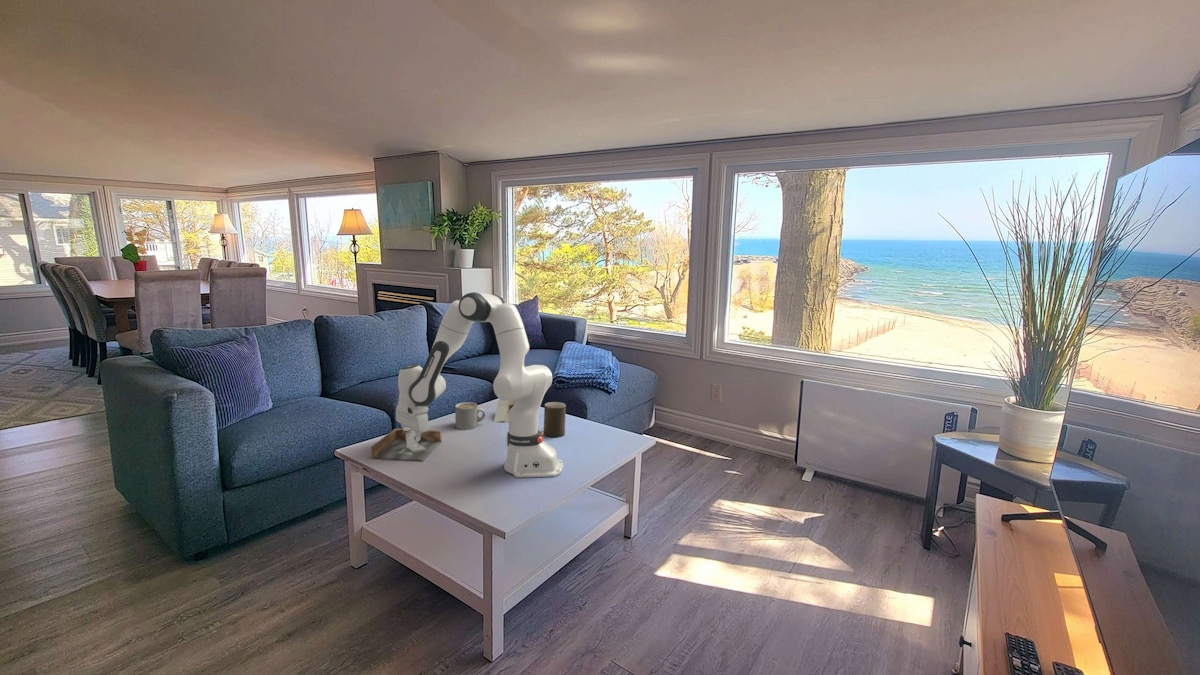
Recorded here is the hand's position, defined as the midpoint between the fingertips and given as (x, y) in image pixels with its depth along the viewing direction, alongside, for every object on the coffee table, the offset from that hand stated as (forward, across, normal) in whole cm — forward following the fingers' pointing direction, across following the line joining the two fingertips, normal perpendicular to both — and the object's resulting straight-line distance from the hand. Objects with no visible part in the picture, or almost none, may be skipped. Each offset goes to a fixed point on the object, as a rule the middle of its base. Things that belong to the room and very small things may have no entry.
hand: (411, 437), depth 203 cm
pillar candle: (+5, +26, +55) cm, 61 cm away
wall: (+6, -4, +54) cm, 54 cm away
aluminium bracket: (+4, +3, 0) cm, 5 cm away
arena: (+5, 0, -1) cm, 5 cm away
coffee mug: (+5, -8, +33) cm, 34 cm away
